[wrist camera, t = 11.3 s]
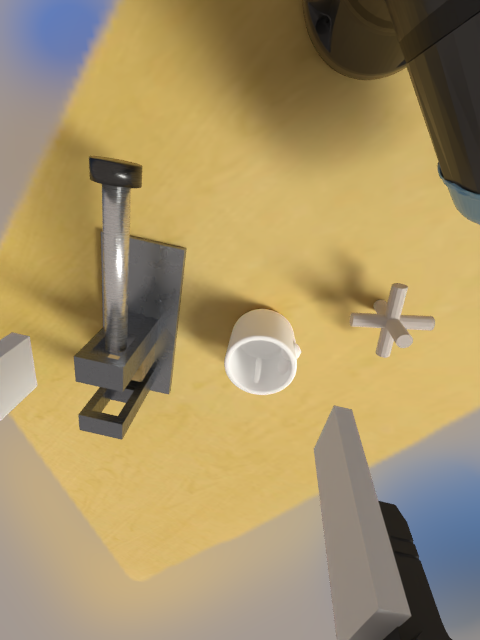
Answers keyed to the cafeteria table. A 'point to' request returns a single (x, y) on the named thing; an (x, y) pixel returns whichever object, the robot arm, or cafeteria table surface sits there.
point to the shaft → (115, 242)
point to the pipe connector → (392, 321)
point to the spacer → (143, 367)
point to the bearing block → (135, 338)
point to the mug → (262, 352)
